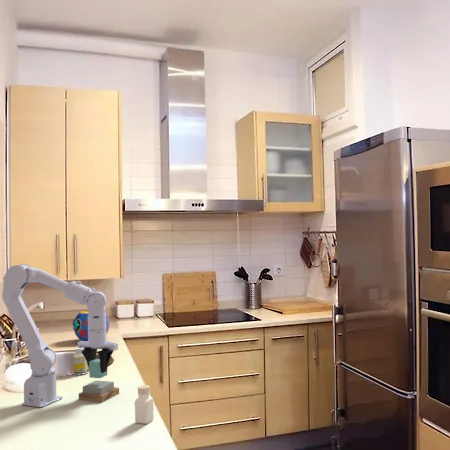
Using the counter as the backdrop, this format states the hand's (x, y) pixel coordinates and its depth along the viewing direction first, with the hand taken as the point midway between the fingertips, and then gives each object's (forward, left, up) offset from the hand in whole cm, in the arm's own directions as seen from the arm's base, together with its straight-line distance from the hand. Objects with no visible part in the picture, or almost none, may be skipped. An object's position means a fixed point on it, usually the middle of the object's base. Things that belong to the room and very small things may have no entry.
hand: (98, 371), depth 157 cm
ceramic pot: (+72, +59, -8) cm, 93 cm away
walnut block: (0, 0, -9) cm, 9 cm away
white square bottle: (-14, -26, -8) cm, 31 cm away
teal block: (0, 0, -2) cm, 2 cm away
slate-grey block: (0, 0, -6) cm, 6 cm away
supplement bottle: (+21, +24, -8) cm, 33 cm away
